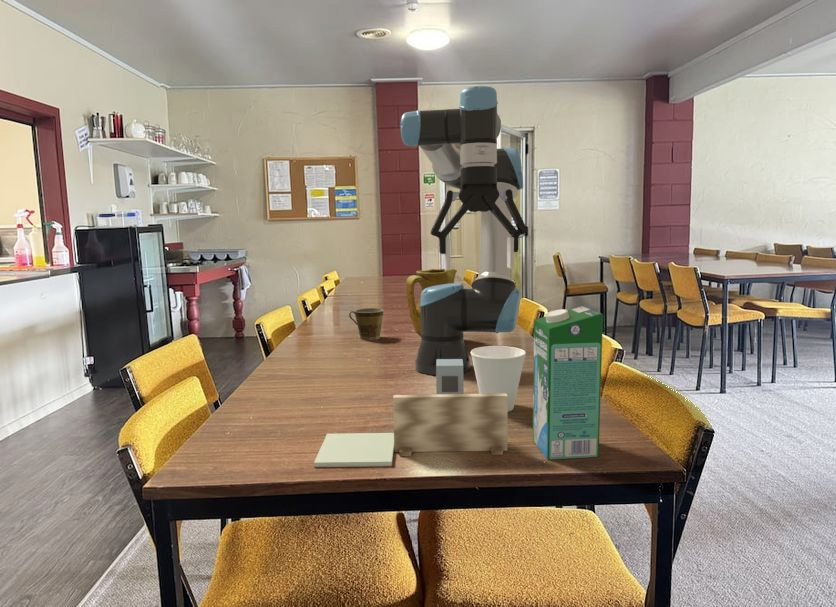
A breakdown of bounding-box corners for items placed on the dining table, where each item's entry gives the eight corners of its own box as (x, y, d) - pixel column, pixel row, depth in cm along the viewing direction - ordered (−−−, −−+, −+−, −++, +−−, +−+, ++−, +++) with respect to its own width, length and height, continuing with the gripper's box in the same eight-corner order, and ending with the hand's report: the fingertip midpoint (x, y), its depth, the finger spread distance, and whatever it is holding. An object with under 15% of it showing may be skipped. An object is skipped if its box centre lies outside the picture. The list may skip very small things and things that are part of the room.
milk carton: (532, 439, 105) (533, 306, 102) (579, 437, 106) (583, 304, 102) (547, 460, 96) (549, 314, 93) (599, 457, 97) (603, 312, 93)
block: (437, 428, 112) (436, 359, 110) (462, 428, 112) (462, 359, 110) (437, 438, 107) (436, 365, 105) (463, 438, 106) (463, 365, 104)
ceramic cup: (389, 336, 202) (388, 308, 200) (375, 342, 193) (374, 313, 191) (357, 334, 207) (356, 307, 206) (342, 339, 198) (341, 311, 197)
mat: (314, 467, 95) (313, 462, 95) (327, 437, 108) (327, 433, 108) (391, 466, 95) (391, 461, 95) (395, 436, 108) (395, 432, 108)
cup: (461, 403, 127) (460, 349, 125) (506, 396, 131) (506, 343, 130) (488, 419, 116) (488, 360, 114) (536, 411, 121) (537, 354, 119)
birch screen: (393, 456, 99) (392, 400, 98) (395, 444, 104) (394, 392, 102) (508, 454, 99) (509, 399, 97) (504, 443, 104) (504, 390, 102)
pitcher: (468, 347, 180) (463, 268, 178) (410, 351, 181) (404, 272, 178) (464, 338, 197) (460, 266, 195) (411, 341, 198) (406, 270, 195)
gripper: (420, 165, 113) (422, 272, 116) (543, 163, 115) (541, 268, 118) (416, 168, 120) (418, 268, 123) (532, 167, 122) (531, 265, 125)
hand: (478, 268), depth 121 cm, fingers open, 13 cm apart
